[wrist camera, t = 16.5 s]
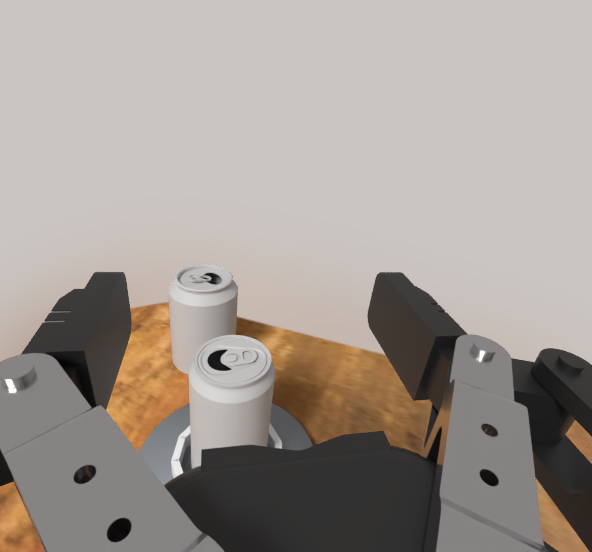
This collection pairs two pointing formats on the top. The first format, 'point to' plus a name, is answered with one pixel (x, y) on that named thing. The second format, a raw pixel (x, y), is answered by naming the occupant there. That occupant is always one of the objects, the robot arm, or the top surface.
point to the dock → (177, 441)
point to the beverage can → (230, 394)
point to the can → (200, 310)
